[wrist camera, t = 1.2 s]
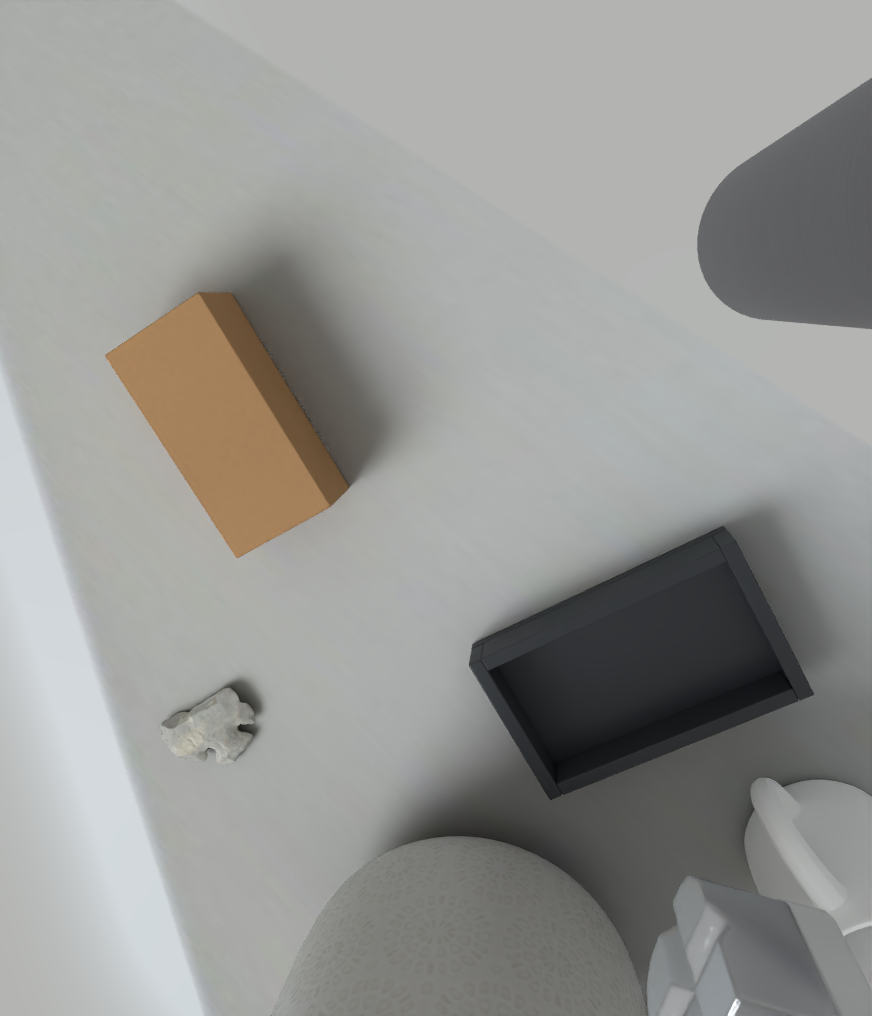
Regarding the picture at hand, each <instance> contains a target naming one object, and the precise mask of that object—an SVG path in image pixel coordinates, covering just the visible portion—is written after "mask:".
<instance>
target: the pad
mask: <svg viewBox="0 0 872 1016" xmlns="http://www.w3.org/2000/svg"><path fill="white" fill-rule="evenodd" d="M105 357H106V358H107V360H108V361H109V363H110V364H111V366H112V367H113V369H114V370H115V372H116V374H117V375H118V377H119V378H120V380H121V381H122V383H123V384H124V386H125V387H126V389H127V390H128V392H129V394H130V395H131V397H132V398H133V400H134V401H135V403H136V404H137V406H138V407H139V409H140V410H141V412H142V414H143V415H144V417H145V418H146V420H147V421H148V423H149V424H150V426H151V427H152V429H153V430H154V432H155V434H156V435H157V437H158V438H159V440H160V441H161V443H162V444H163V446H164V447H165V449H166V450H167V452H168V454H169V455H170V457H171V458H172V460H173V461H174V463H175V464H176V466H177V467H178V469H179V470H180V472H181V474H182V475H183V477H184V478H185V480H186V481H187V483H188V484H189V486H190V487H191V489H192V490H193V492H194V494H195V495H196V497H197V498H198V500H199V501H200V503H201V504H202V506H203V507H204V509H205V510H206V512H207V514H208V515H209V517H210V518H211V520H212V521H213V523H214V524H215V526H216V527H217V529H218V530H219V532H220V534H221V535H222V537H223V538H224V540H225V541H226V543H227V544H228V546H229V547H230V549H231V550H232V552H233V554H234V555H235V557H236V558H239V557H241V556H242V555H244V554H246V553H248V552H250V551H251V550H253V549H255V548H257V547H259V546H260V545H262V544H264V543H266V542H268V541H269V540H271V539H273V538H275V537H277V536H279V535H280V534H282V533H284V532H286V531H288V530H289V529H291V528H293V527H295V526H297V525H298V524H300V523H302V522H304V521H306V520H308V519H309V518H311V517H313V516H315V515H317V514H318V513H320V512H322V511H324V510H326V509H327V508H329V507H331V506H332V505H333V504H334V503H335V502H336V501H337V500H338V499H339V498H340V497H341V496H342V495H343V494H344V493H345V492H346V491H347V490H348V488H349V486H348V484H347V483H346V481H345V479H344V478H343V476H342V474H341V473H340V471H339V469H338V468H337V466H336V464H335V463H334V461H333V459H332V458H331V456H330V455H329V453H328V451H327V450H326V448H325V446H324V445H323V443H322V441H321V440H320V438H319V436H318V435H317V433H316V431H315V430H314V428H313V427H312V425H311V423H310V422H309V420H308V418H307V417H306V415H305V413H304V412H303V410H302V408H301V407H300V405H299V403H298V402H297V400H296V399H295V397H294V395H293V394H292V392H291V390H290V389H289V387H288V385H287V384H286V382H285V380H284V379H283V377H282V375H281V374H280V372H279V371H278V369H277V367H276V366H275V364H274V362H273V361H272V359H271V357H270V356H269V354H268V352H267V351H266V349H265V347H264V346H263V344H262V343H261V341H260V339H259V338H258V336H257V334H256V333H255V331H254V329H253V328H252V326H251V324H250V323H249V321H248V319H247V318H246V316H245V315H244V313H243V311H242V310H241V308H240V306H239V305H238V303H237V301H236V300H235V298H234V296H233V295H232V293H204V292H199V293H197V294H195V295H194V296H192V297H191V298H189V299H188V300H186V301H185V302H183V303H182V304H180V305H179V306H177V307H176V308H174V309H173V310H172V311H170V312H169V313H167V314H166V315H164V316H163V317H161V318H160V319H158V320H157V321H155V322H154V323H152V324H151V325H149V326H148V327H146V328H145V329H143V330H142V331H140V332H139V333H137V334H136V335H134V336H133V337H131V338H130V339H128V340H127V341H125V342H124V343H122V344H121V345H120V346H118V347H117V348H115V349H114V350H112V351H111V352H109V353H108V354H106V355H105Z"/></svg>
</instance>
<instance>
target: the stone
mask: <svg viewBox="0 0 872 1016" xmlns="http://www.w3.org/2000/svg"><path fill="white" fill-rule="evenodd" d="M255 720H256V717H255V715H254V711H253V709H252V708H251V707H250V706H249V705H248V704H247V703H242V702H240V701H239V697H238V695H237V694H236V692H234V691H233V690H232V689H231V688H224V689H222V690H220V691H219V692H217V693H216V694H215V695H213V696H211V697H209V698H208V699H206V700H204V701H203V702H202V703H201V704H199V705H196V706H195V707H193V709H192V710H191V711H190V712H179V713H177V714H175V715H173V716H172V717H170V718H169V719H167V720H165V721H164V722H162V724H161V726H160V731H161V735H162V737H163V740H164V741H165V742H166V744H167V746H168V747H169V749H170V750H171V751H172V752H173V753H174V754H175V755H176V756H177V757H178V758H183V759H190V760H196V761H202V762H204V761H205V760H206V759H207V753H206V750H207V748H213V749H215V751H216V757H217V763H220V764H222V763H225V764H229V763H233V762H235V761H236V759H237V757H238V755H239V753H241V752H242V751H243V750H244V749H246V747H247V745H248V744H249V743H250V742H251V741H252V739H253V735H252V734H250V733H248V732H241V731H239V730H238V726H239V725H240V724H253V723H254V722H255Z"/></svg>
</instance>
